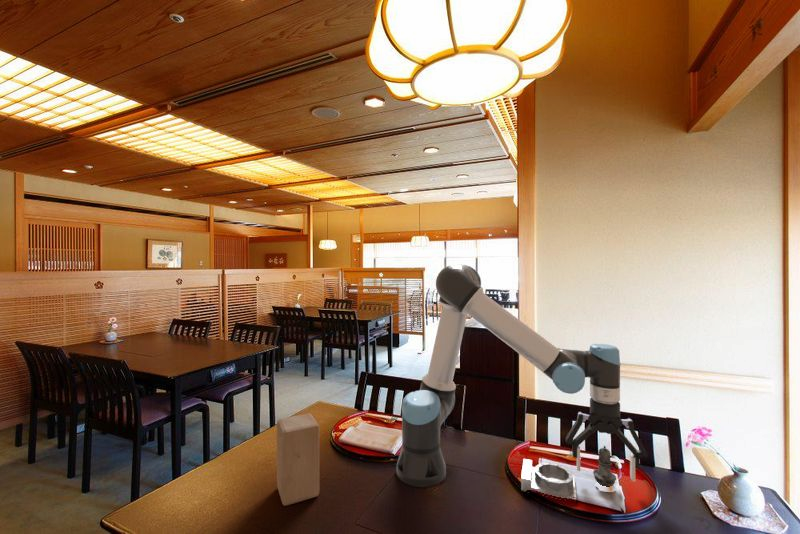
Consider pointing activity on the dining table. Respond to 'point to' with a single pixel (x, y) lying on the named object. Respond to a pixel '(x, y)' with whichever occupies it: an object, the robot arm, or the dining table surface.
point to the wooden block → (297, 458)
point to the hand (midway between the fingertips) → (604, 473)
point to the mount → (548, 479)
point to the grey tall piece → (604, 469)
